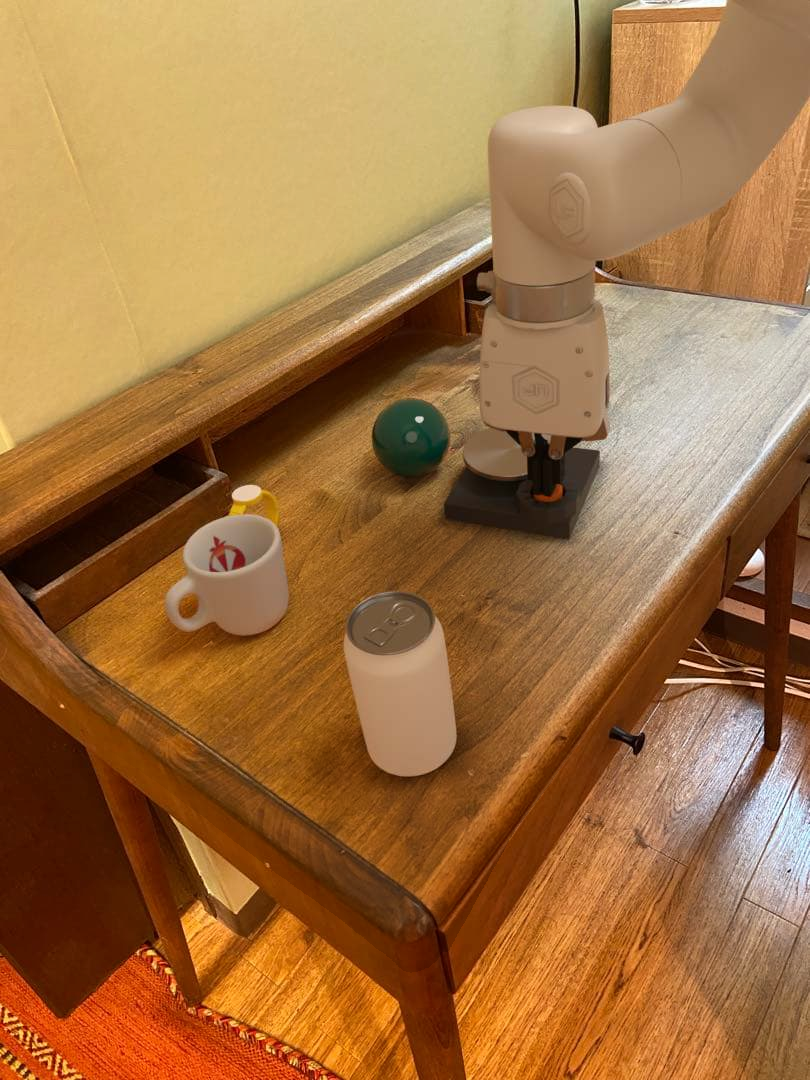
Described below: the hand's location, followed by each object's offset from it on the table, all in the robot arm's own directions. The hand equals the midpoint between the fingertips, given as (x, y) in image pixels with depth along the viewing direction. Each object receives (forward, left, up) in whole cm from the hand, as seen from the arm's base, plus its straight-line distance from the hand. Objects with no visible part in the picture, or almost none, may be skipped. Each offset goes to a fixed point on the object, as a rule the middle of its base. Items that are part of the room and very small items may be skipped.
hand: (546, 486), depth 74 cm
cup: (+21, +20, -4) cm, 30 cm away
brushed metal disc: (+5, -5, 0) cm, 7 cm away
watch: (+25, +10, -4) cm, 28 cm away
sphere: (+15, -5, -4) cm, 17 cm away
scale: (+3, -4, -4) cm, 6 cm away
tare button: (0, 0, -2) cm, 2 cm away
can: (+2, +27, -4) cm, 27 cm away
